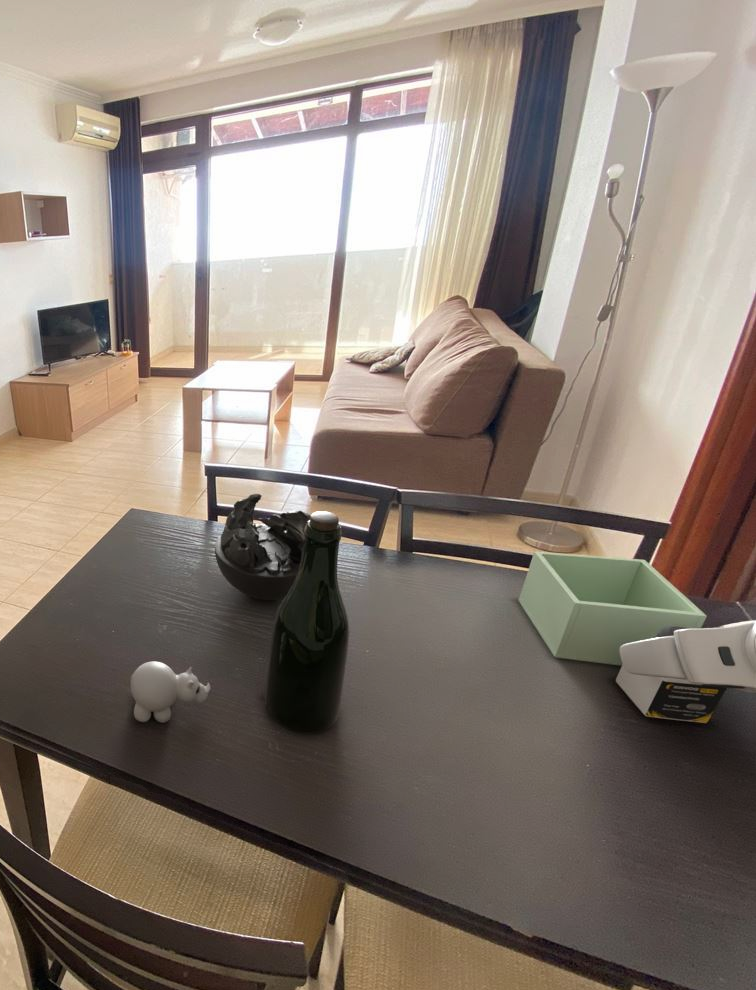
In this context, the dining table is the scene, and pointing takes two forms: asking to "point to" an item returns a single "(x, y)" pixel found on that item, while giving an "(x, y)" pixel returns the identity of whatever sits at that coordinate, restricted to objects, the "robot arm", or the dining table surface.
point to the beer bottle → (310, 636)
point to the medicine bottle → (670, 693)
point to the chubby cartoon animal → (163, 690)
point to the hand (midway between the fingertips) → (672, 663)
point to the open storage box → (600, 604)
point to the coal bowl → (261, 550)
